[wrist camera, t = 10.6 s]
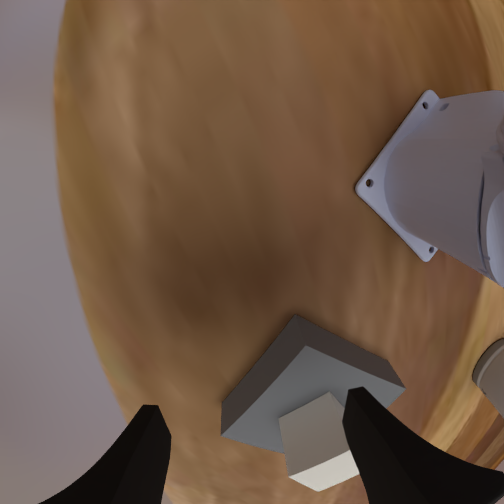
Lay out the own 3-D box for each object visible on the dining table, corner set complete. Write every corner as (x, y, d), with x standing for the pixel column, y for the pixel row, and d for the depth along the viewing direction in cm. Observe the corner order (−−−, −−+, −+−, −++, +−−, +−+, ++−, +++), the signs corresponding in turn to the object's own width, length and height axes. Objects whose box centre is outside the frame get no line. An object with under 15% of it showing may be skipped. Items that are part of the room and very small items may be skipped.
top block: (351, 416, 18) (372, 467, 14) (305, 440, 19) (318, 491, 14) (329, 391, 17) (351, 449, 12) (278, 418, 18) (288, 476, 13)
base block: (294, 311, 20) (305, 345, 16) (386, 358, 22) (406, 388, 18) (222, 399, 22) (220, 435, 18) (314, 429, 24) (322, 461, 20)
